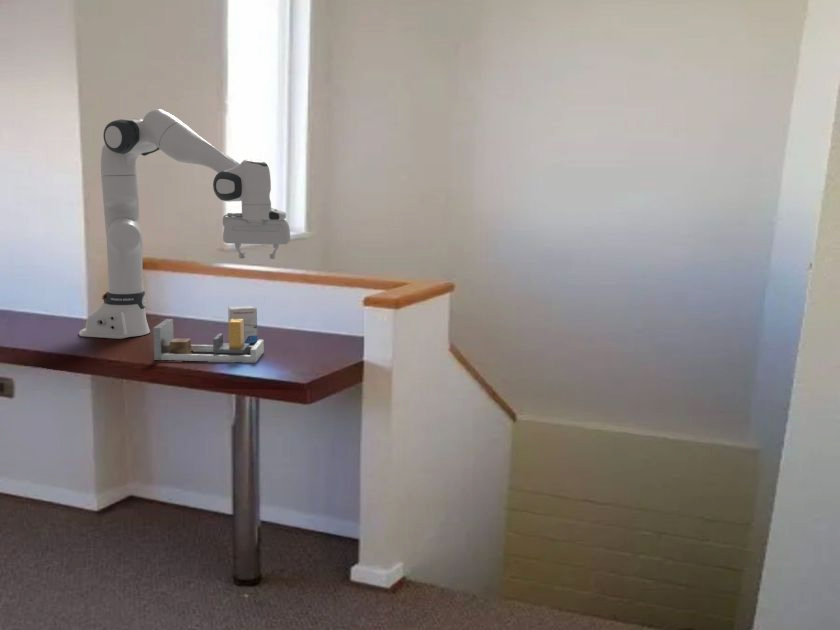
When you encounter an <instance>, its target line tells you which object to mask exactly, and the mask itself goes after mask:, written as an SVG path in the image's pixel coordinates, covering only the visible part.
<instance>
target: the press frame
mask: <svg viewBox="0 0 840 630" xmlns="http://www.w3.org/2000/svg"><path fill="white" fill-rule="evenodd" d="M152 331H153V332H152V334H153V352H154V353H153V355H154V357H153V358H154V360H185V361H187V360H188V361H208V362H207V363H235V362H242V363H244V364H257V362H258V360H260V358H261V357H262V355H263V354H264V352H265V345H264V342H265V341H264V339H257V342H256V343H254V344H253V345H249V351H250V353H249V354H248V355H222V354H213V344H191V351H193V352H192V353H191V354H169V353H170V341H172V340H173V339H174V338H175V336H174V335H175V334H174V319H173V318H165V319H164V320H162V321H161V322H159V323H158V324H157V325H155V326H153V328H152ZM207 353H208V354H207ZM210 353H211V354H210ZM242 363H241V364H242Z"/></svg>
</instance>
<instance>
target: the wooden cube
mask: <svg viewBox="0 0 840 630" xmlns="http://www.w3.org/2000/svg"><path fill="white" fill-rule="evenodd" d="M191 345H192V339H191V338H179V337H178V338H175V337H174V339H173V340H172V341H170V354H192V352H191Z"/></svg>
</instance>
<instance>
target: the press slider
mask: <svg viewBox="0 0 840 630" xmlns="http://www.w3.org/2000/svg"><path fill="white" fill-rule="evenodd" d="M212 345H213V352H212V354H222V355H250V354H251V353H250V351H249V346H250V344H249V343H244V319H231V320H230V321H228V342H224V334H223V333H217V334H216V336H215V337H214V338H213V339H212Z"/></svg>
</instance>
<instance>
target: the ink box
mask: <svg viewBox="0 0 840 630" xmlns="http://www.w3.org/2000/svg"><path fill="white" fill-rule="evenodd" d="M227 310H228V314H227V315H228V319H227V320H228V322H229V321H230V320H231V319H244V343H249V345H251V344H256V342H257V341H258V309H257V307H256V306H254V305H245V306H243V305H242V306H228V309H227Z"/></svg>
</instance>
